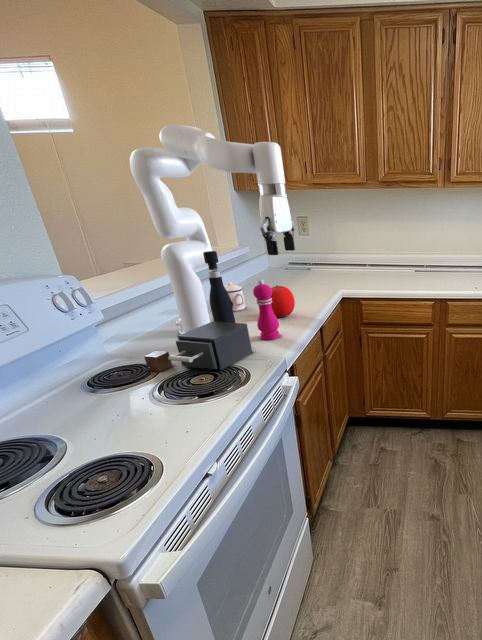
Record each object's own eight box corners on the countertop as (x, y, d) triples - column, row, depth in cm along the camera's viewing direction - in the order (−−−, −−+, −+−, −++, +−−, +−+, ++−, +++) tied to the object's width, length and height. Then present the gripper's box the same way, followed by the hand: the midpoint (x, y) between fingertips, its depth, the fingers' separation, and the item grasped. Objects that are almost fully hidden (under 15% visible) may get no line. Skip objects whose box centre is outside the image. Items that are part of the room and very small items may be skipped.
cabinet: (221, 370, 119) (213, 338, 115) (185, 366, 122) (177, 335, 119) (252, 352, 132) (246, 323, 128) (219, 349, 135) (213, 321, 131)
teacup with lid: (219, 310, 181) (213, 283, 176) (237, 305, 188) (232, 279, 183) (237, 313, 175) (231, 286, 171) (254, 308, 182) (249, 281, 177)
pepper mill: (274, 340, 141) (265, 282, 133) (255, 340, 143) (244, 281, 134) (284, 334, 148) (275, 277, 140) (266, 333, 149) (256, 277, 141)
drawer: (199, 378, 112) (193, 351, 109) (166, 374, 116) (159, 347, 112) (244, 353, 129) (239, 329, 126) (214, 350, 132) (209, 326, 129)
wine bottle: (220, 348, 136) (199, 254, 124) (218, 342, 142) (197, 251, 129) (240, 344, 139) (221, 252, 127) (238, 339, 144) (219, 249, 132)
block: (148, 370, 121) (143, 356, 119) (160, 364, 125) (156, 350, 123) (160, 371, 119) (156, 357, 118) (172, 366, 123) (168, 351, 122)
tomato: (295, 311, 176) (291, 281, 171) (297, 318, 166) (293, 286, 161) (265, 314, 173) (259, 284, 167) (265, 322, 162) (260, 290, 157)
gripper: (277, 191, 128) (285, 248, 135) (243, 192, 113) (254, 256, 120) (299, 190, 126) (306, 248, 133) (267, 191, 111) (277, 257, 118)
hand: (282, 252), depth 126 cm, fingers open, 9 cm apart
